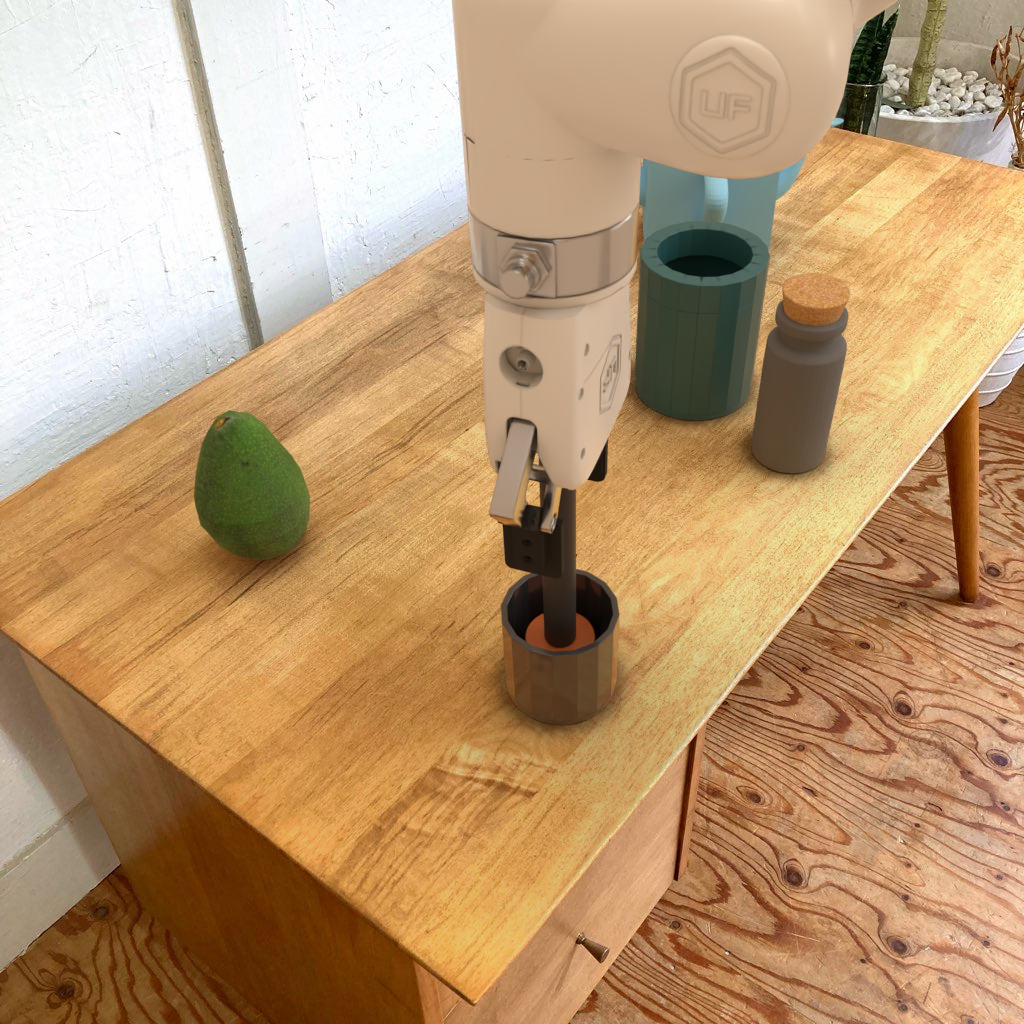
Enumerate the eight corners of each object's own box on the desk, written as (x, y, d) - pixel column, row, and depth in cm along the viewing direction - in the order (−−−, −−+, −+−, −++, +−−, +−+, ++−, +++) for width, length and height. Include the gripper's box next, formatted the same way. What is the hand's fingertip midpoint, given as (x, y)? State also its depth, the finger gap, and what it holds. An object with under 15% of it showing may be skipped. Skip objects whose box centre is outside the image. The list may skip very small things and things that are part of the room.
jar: (760, 362, 94) (779, 229, 85) (738, 430, 87) (756, 294, 78) (650, 344, 96) (658, 214, 88) (621, 408, 90) (626, 274, 81)
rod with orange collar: (602, 657, 70) (608, 436, 57) (583, 709, 67) (584, 489, 54) (539, 642, 71) (531, 421, 58) (518, 692, 68) (504, 472, 55)
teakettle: (709, 312, 100) (724, 165, 90) (571, 243, 110) (571, 104, 100) (829, 240, 109) (855, 99, 98) (691, 182, 119) (702, 49, 109)
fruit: (281, 496, 83) (248, 373, 75) (340, 545, 79) (312, 421, 71) (194, 546, 80) (150, 423, 72) (251, 601, 75) (211, 476, 67)
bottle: (801, 484, 82) (833, 321, 72) (736, 454, 85) (758, 293, 74) (838, 446, 85) (873, 284, 75) (774, 418, 88) (800, 259, 78)
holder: (628, 652, 71) (632, 581, 66) (597, 737, 66) (599, 668, 61) (527, 626, 73) (524, 556, 68) (490, 708, 68) (483, 638, 63)
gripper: (575, 358, 40) (575, 651, 52) (681, 161, 52) (661, 438, 64) (396, 327, 42) (437, 616, 54) (537, 144, 54) (544, 416, 66)
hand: (558, 518), depth 59 cm, fingers open, 7 cm apart
